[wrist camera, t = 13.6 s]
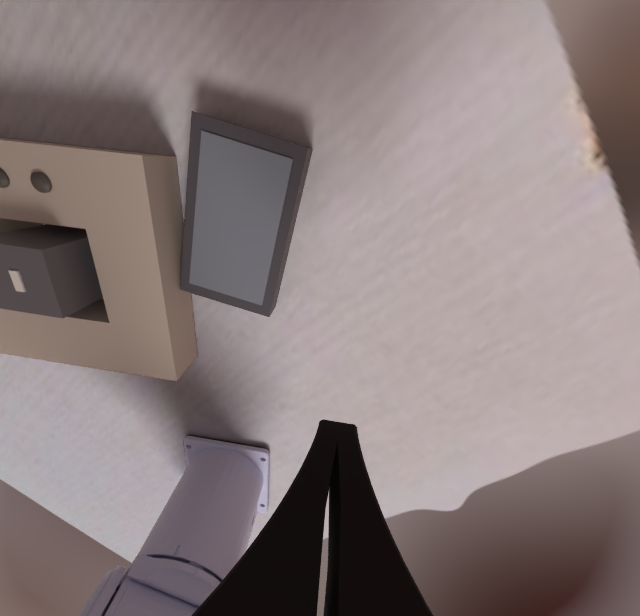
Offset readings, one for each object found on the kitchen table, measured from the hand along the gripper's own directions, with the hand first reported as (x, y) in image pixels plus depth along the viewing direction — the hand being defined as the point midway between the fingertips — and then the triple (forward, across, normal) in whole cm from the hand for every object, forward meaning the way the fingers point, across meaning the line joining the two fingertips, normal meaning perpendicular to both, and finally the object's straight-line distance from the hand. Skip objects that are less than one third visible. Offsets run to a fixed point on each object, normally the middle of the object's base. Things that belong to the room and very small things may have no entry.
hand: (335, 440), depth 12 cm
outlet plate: (+10, +18, -2) cm, 21 cm away
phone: (+10, +7, -6) cm, 14 cm away
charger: (+10, +18, -2) cm, 21 cm away
